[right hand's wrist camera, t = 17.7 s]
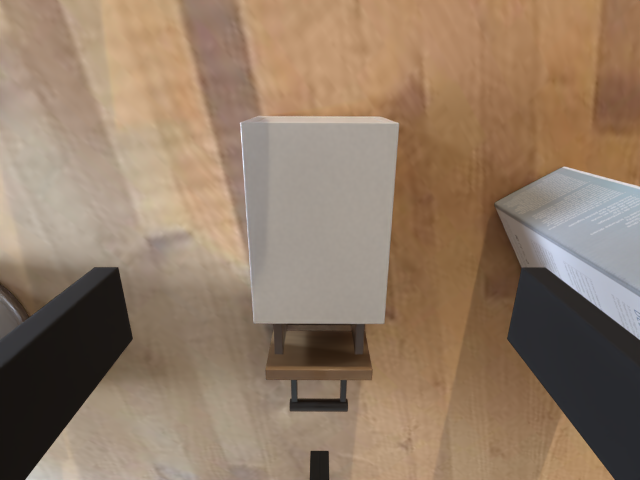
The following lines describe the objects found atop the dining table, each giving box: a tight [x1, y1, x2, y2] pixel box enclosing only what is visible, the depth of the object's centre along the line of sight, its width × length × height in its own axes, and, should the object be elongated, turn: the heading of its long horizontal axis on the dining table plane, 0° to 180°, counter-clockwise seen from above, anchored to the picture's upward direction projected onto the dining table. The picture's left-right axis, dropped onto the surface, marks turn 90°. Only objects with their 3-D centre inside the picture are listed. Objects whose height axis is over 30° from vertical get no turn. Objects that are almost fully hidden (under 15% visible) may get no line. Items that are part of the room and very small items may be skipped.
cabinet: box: [241, 116, 399, 324], centre depth 34 cm, size 17×11×8 cm
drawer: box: [265, 324, 372, 412], centre depth 38 cm, size 21×10×6 cm, turn 0°
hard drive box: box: [494, 167, 640, 340], centre depth 30 cm, size 16×8×20 cm, turn 31°
